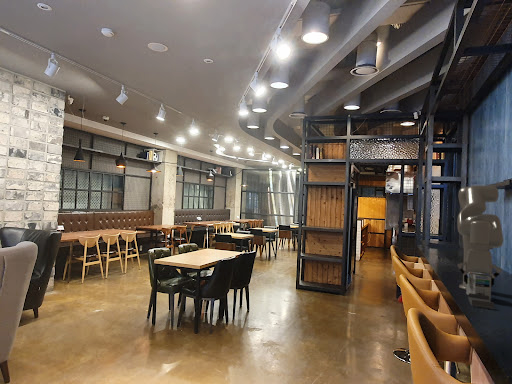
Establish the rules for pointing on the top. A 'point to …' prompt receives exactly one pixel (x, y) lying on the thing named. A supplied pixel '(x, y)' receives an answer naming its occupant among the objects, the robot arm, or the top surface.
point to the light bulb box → (479, 284)
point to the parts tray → (480, 301)
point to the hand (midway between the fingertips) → (478, 285)
